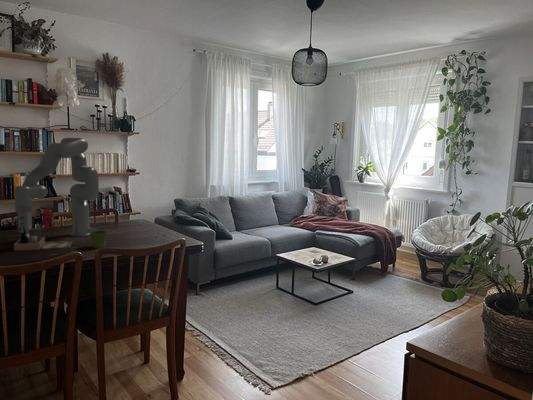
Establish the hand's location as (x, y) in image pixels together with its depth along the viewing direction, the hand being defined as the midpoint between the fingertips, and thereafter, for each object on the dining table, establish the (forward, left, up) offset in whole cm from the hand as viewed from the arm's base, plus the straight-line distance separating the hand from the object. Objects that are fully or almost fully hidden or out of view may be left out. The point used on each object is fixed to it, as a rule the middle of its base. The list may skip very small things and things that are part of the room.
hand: (25, 242), depth 216 cm
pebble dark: (-4, +2, -2) cm, 5 cm away
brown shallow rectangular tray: (-3, +1, -3) cm, 4 cm away
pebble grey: (0, 0, -1) cm, 1 cm away
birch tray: (-16, +1, -3) cm, 16 cm away
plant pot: (-37, +8, -3) cm, 38 cm away
